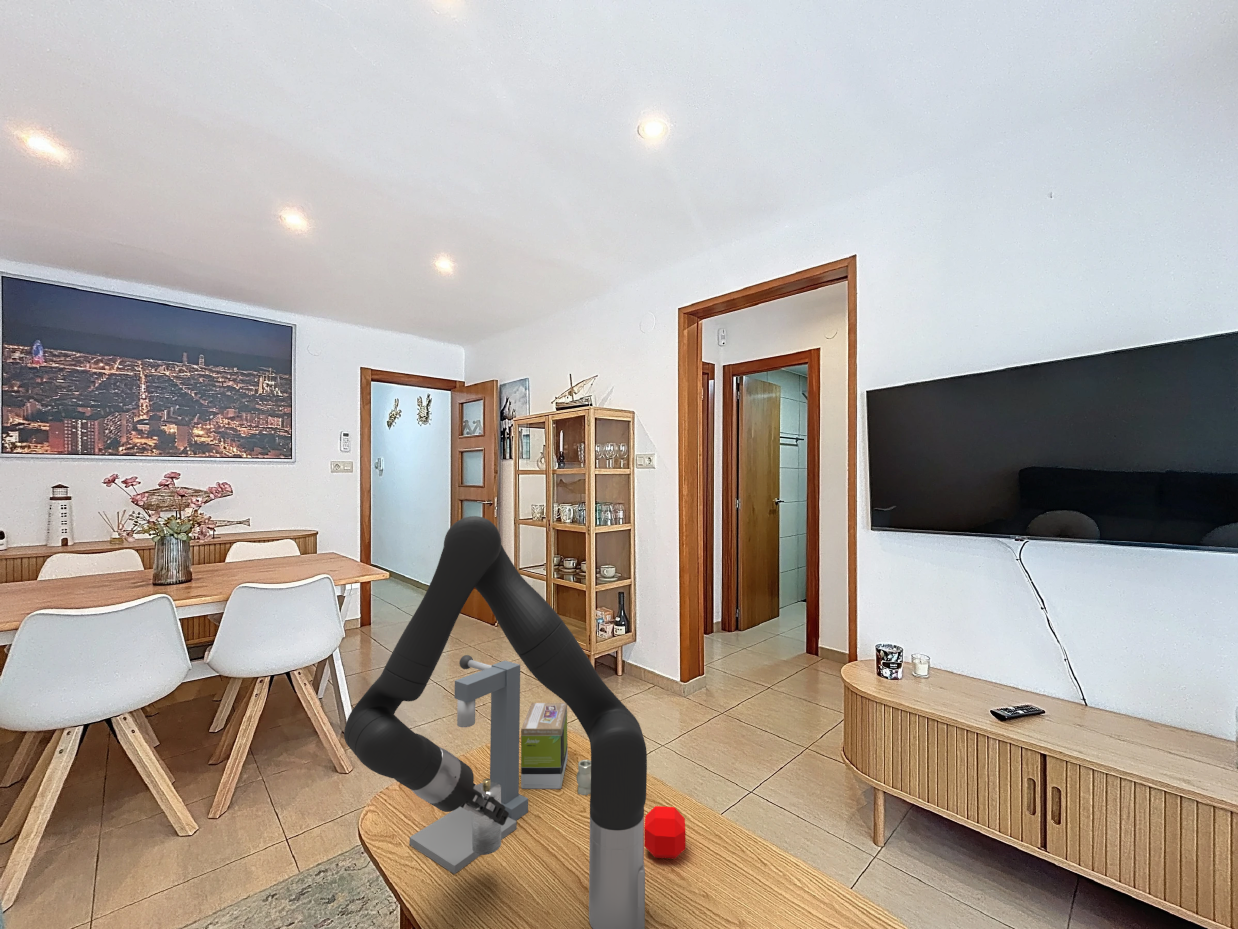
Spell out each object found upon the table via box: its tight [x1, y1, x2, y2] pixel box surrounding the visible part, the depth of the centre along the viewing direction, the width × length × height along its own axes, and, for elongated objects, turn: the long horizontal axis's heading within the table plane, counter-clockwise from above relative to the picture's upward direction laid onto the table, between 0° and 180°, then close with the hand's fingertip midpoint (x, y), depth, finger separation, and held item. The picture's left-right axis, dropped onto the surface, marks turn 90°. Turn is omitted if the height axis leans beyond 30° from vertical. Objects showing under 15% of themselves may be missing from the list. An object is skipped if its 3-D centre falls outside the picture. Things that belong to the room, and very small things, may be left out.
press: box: [409, 654, 529, 875], centre depth 115 cm, size 22×22×32 cm
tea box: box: [520, 702, 569, 790], centre depth 134 cm, size 15×10×15 cm
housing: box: [472, 778, 502, 856], centre depth 98 cm, size 5×5×12 cm
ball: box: [644, 805, 687, 860], centre depth 106 cm, size 8×8×8 cm
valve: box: [575, 759, 591, 796], centre depth 125 cm, size 7×7×12 cm
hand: (493, 813), depth 99 cm, fingers closed on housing, 5 cm apart
